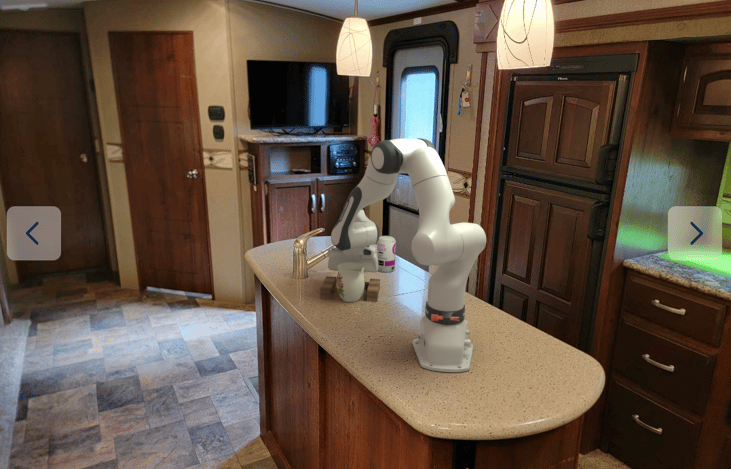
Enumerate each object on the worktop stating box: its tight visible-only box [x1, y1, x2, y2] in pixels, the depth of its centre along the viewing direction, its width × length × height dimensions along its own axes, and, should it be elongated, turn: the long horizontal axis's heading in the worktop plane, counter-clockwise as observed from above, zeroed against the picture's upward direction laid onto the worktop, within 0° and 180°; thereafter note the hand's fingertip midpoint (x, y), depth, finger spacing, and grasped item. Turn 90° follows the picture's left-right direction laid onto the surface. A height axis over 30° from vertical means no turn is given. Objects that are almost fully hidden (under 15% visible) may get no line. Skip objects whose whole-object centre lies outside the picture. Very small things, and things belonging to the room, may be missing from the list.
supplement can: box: [376, 235, 397, 273], centre depth 218 cm, size 8×8×15 cm
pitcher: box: [335, 262, 366, 303], centre depth 186 cm, size 11×18×14 cm, turn 27°
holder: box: [319, 275, 381, 303], centre depth 191 cm, size 14×22×4 cm, turn 84°
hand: (353, 281), depth 196 cm, fingers closed
